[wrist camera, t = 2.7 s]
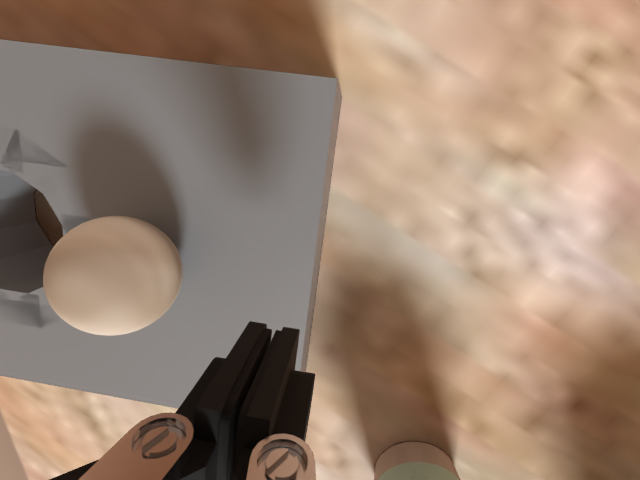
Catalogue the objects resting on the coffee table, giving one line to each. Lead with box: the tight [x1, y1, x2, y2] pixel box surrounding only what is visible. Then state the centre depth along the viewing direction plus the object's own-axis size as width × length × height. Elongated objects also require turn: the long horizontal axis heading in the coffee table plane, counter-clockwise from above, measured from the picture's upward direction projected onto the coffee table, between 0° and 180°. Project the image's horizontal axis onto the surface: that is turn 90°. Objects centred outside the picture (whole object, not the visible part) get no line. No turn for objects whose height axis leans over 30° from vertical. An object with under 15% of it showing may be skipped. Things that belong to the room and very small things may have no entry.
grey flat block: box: [0, 39, 342, 409], centre depth 19 cm, size 18×22×5 cm
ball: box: [43, 216, 183, 336], centre depth 14 cm, size 5×5×5 cm
